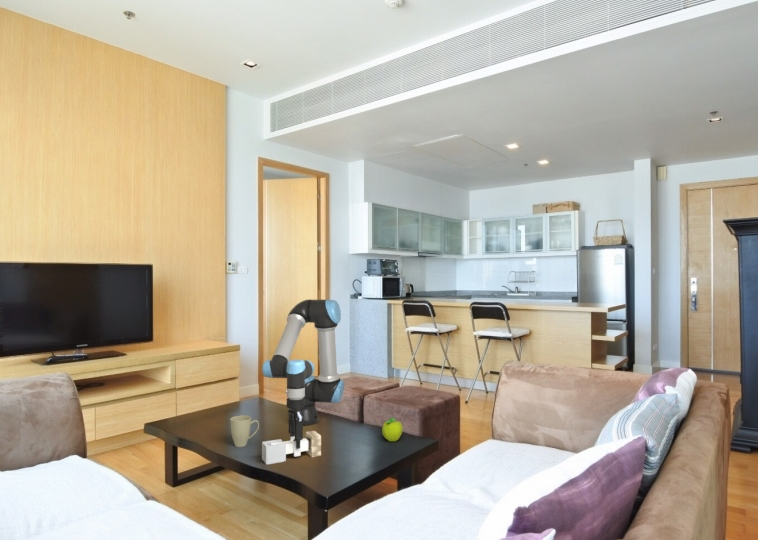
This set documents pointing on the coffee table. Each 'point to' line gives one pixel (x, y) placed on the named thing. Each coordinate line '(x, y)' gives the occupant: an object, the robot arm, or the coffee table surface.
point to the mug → (241, 429)
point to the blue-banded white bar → (291, 445)
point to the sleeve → (273, 452)
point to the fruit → (392, 429)
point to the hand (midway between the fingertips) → (295, 453)
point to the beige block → (313, 443)
